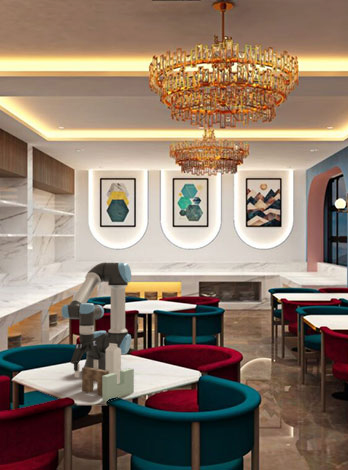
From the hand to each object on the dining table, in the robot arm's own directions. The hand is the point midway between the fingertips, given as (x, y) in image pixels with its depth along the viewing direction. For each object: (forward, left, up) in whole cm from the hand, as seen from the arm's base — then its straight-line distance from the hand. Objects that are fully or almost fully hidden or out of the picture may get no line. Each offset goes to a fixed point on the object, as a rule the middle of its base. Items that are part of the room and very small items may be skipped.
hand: (86, 374), depth 281 cm
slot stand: (+20, +2, -9) cm, 22 cm away
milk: (+2, +18, -9) cm, 20 cm away
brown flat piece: (+6, 0, -9) cm, 10 cm away
